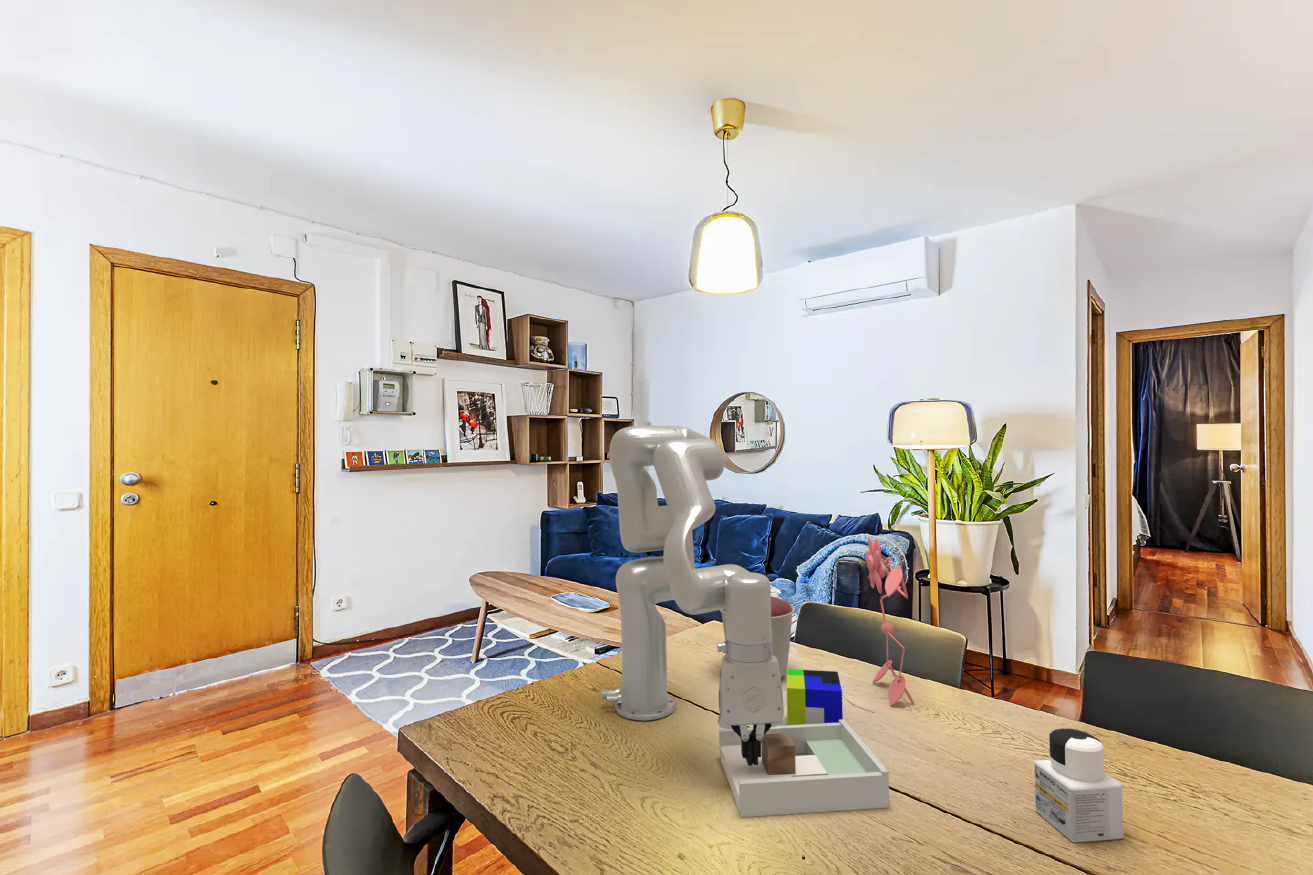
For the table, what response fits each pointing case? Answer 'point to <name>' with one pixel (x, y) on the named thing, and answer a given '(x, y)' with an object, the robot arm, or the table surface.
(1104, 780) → the container
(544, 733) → the table surface
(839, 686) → the puzzle toy
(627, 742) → the table surface
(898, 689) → the figurine
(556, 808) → the table surface
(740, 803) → the tray
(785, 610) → the canister
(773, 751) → the walnut block
